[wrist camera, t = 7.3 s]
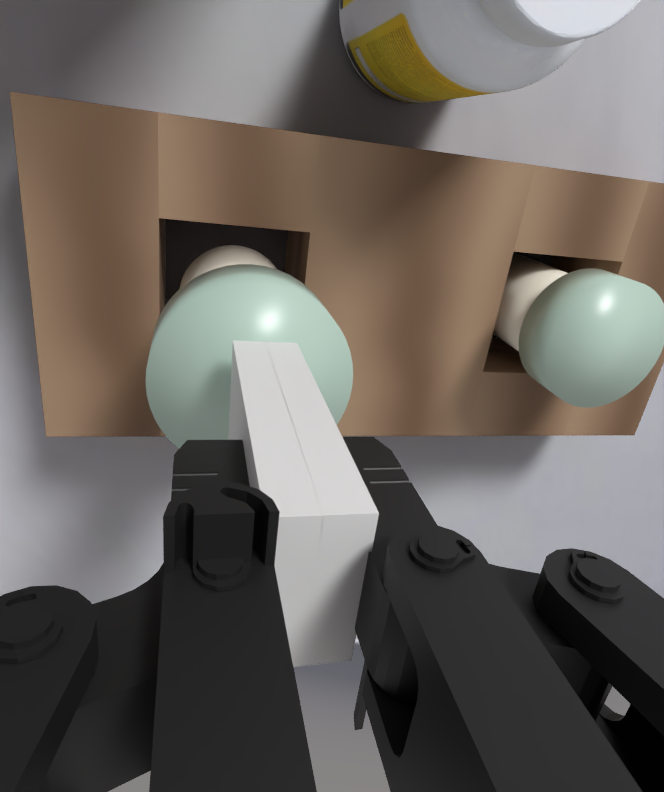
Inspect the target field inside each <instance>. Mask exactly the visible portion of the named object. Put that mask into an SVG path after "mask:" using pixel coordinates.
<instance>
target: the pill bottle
mask: <svg viewBox="0 0 664 792" xmlns="http://www.w3.org/2000/svg"><path fill="white" fill-rule="evenodd" d="M639 2H640V0H340V3H339V16H340V27H341V33H342V38H343V41H344V45H345V48H346V51H347V54H348V56H349V58H350V60H351V62H352V64H353V66H354V68H355V69H356V71H357V72H358V74H359V75H360V76H361V77H362V79H363V80H364V81H365V82H366V83H367V84H368V85H369V86H370V87H371V88H373V89H374V90H375V91H377V92H378V93H380V94H381V95H383V96H385V97H387V98H389V99H392V100H395V101H399V102H404V103H426V102H433V101H440V100H448V99H455V98H462V97H469V96H477V95H484V94H491V93H499V92H506V91H511V90H516V89H520V88H522V87H525V86H528V85H531V84H533V83H535V82H537V81H539V80H541V79H542V78H544V77H546V76H547V75H549V74H551V73H552V72H553V71H555V70H556V69H558V68H559V67H560V66H561V65H562V64H563V63H565V62H566V61H567V60H568V59H569V58H570V57H571V56H572V55H573V54H574V53H575V51H576V50H577V49H578V48H579V47H580V45H581V44H582V43H583V42H584V40H585V39H586V38H589V37H592V36H595V35H597V34H599V33H601V32H603V31H605V30H607V29H609V28H611V27H612V26H614V25H615V24H616V23H618V22H619V21H620V20H621V19H623V18H624V17H625V16H627V15H628V14H629V13H630V12H631V11H632V10H633V8H634V7H635V6H636V5H637V4H638V3H639Z"/></svg>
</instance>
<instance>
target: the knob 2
mask: <svg viewBox="0 0 664 792" xmlns="http://www.w3.org/2000/svg"><path fill="white" fill-rule="evenodd" d="M493 334H494V335H495V336H497V337H498V338H500V339H501V340H503V341H504V342H506V343H507V344H508V345H510V346H511V347H513V348H514V349H516V350H517V351H519V355H520V359H521V362H522V365H523V367H524V369H525V370H526V372H527V373H528V374H529V375H530V376H531V377H532V378H533V379H534V380H535V381H537V382H538V383H539V384H541V385H542V386H544V387H545V388H546V389H548V390H549V391H550V392H552V393H553V394H554V395H556V396H557V397H559V398H560V399H561V400H563V401H564V402H566V403H568V404H570V405H573V406H577V407H584V408H589V407H598V406H602V405H605V404H609V403H611V402H613V401H616V400H618V399H619V398H621V397H623V396H624V395H626V394H627V393H629V392H630V391H632V390H633V389H634V388H635V387H636V386H637V385H638V384H639V383H640V382H641V381H642V380H643V379H644V378H645V377H646V376H647V375H648V374H649V372H650V371H651V369H652V368H653V367H654V365H655V363H656V362H657V360H658V358H659V356H660V354H661V352H662V349H663V346H664V303H663V301H662V299H661V298H660V296H659V295H658V294H657V293H656V292H655V291H654V290H653V289H652V288H651V287H649V286H647V285H645V284H643V283H640V282H637V281H634V280H631V279H629V278H626V277H623V276H620V275H617V274H614V273H611V272H608V271H605V270H602V269H596V268H587V269H580V270H576V271H573V272H570V273H566V272H564V271H561V270H559V269H556V268H553V267H551V266H548V265H546V264H543V263H540V262H538V261H535V260H533V259H530V258H527V257H525V256H522V255H519V254H513V256H512V260H511V264H510V268H509V272H508V276H507V280H506V284H505V287H504V291H503V295H502V299H501V303H500V307H499V311H498V315H497V319H496V323H495V327H494V330H493Z"/></svg>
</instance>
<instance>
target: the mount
mask: <svg viewBox="0 0 664 792" xmlns="http://www.w3.org/2000/svg"><path fill="white" fill-rule="evenodd" d="M10 99H11V109H12V118H13V128H14V137H15V147H16V156H17V166H18V175H19V185H20V194H21V204H22V213H23V223H24V232H25V242H26V251H27V261H28V270H29V280H30V289H31V299H32V308H33V318H34V327H35V337H36V346H37V356H38V365H39V375H40V384H41V394H42V403H43V413H44V422H45V431H46V437H69V436H166V435H165V434H164V433H163V432H162V430H161V429H160V427H159V425H158V424H157V422H156V420H155V419H154V416H153V414H152V411H151V409H150V406H149V402H148V398H147V393H146V368H147V363H148V358H149V353H150V347H151V342H152V338H153V333H154V328H155V326H156V323H157V320H158V318H159V316H160V314H161V312H162V310H163V308H164V307H165V305H166V300H165V219H173V220H184V221H194V222H205V223H216V224H226V225H237V226H247V227H258V228H269V229H279V230H288V238H287V250H286V261H285V273H287V274H289V275H291V276H292V277H294V278H296V279H298V280H299V281H301V282H302V283H303V284H304V285H306V286H307V287H308V288H309V289H310V290H311V291H312V292H313V293H314V294H315V295H316V296H317V297H318V299H319V300H320V301H321V303H322V304H323V305H324V307H325V308H326V310H327V311H328V312H329V314H330V315H331V316H332V318H333V319H334V320H335V322H336V323H337V325H338V326H339V327H340V329H341V331H342V333H343V335H344V336H345V338H346V341H347V343H348V346H349V349H350V353H351V358H352V363H353V384H352V390H351V395H350V399H349V402H348V404H347V407H346V410H345V412H344V414H343V415H342V417H341V419H340V421H339V422H338V424H337V427H338V429H339V431H340V433H341V435H342V436H505V435H635V432H636V430H637V427H638V425H639V422H640V420H641V417H642V415H643V412H644V410H645V407H646V405H647V402H648V400H649V397H650V395H651V392H652V390H653V387H654V385H655V382H656V380H657V377H658V375H659V372H660V370H661V367H662V365H663V362H664V346H663V349H662V352H661V354H660V356H659V358H658V360H657V362H656V363H655V365H654V367H653V368H652V369H651V371H650V372H649V374H648V375H647V376H646V377H645V378H644V379H643V380H642V381H641V382H640V383H639V384H638V385H637V386H636V387H635V388H634V389H633V390H632V391H630V392H629V393H627V394H626V395H624V396H623V397H621V398H619V399H618V400H616V401H613V402H611V403H609V404H605V405H602V406H598V407H589V408H584V407H577V406H573V405H570V404H568V403H566V402H564V401H563V400H561V399H560V398H559V397H557V396H556V395H554V394H553V393H552V392H550V391H549V390H548V389H546V388H545V387H544V386H542V385H541V384H539V383H538V382H537V381H535V380H534V379H533V378H532V377H531V376H530V375H529V374H528V373H527V372H526V370H525V369H524V367H523V365H522V362H521V359H520V355H519V351H517V350H516V349H514V348H513V347H511V346H510V345H508V344H507V343H506V342H504V341H503V340H501V339H500V338H492V334H493V330H494V327H495V323H496V319H497V315H498V311H499V307H500V303H501V299H502V295H503V291H504V287H505V284H506V280H507V276H508V272H509V268H510V264H511V260H512V256H513V252H524V253H534V254H545V255H552V258H551V261H550V265H549V266H551V267H553V268H556V269H559V270H561V271H564V272H566V273H570V272H573V271H576V270H580V269H587V268H596V269H602V270H605V271H608V272H611V273H614V274H617V275H620V276H623V277H626V278H629V279H631V280H634V281H637V282H640V283H643V284H645V285H647V286H649V287H651V288H652V289H653V290H654V291H655V292H656V293H657V294H658V295H659V296H660V298H661V299H662V301H663V303H664V184H663V183H656V182H649V181H642V180H635V179H627V178H620V177H613V176H606V175H599V174H592V173H585V172H578V171H571V170H564V169H556V168H549V167H542V166H535V165H528V164H521V163H514V162H507V161H500V160H493V159H485V158H478V157H471V156H464V155H457V154H450V153H443V152H436V151H429V150H421V149H414V148H407V147H400V146H393V145H386V144H379V143H372V142H365V141H358V140H350V139H343V138H336V137H329V136H322V135H315V134H308V133H301V132H294V131H287V130H279V129H272V128H265V127H258V126H251V125H244V124H237V123H230V122H223V121H216V120H208V119H201V118H194V117H187V116H180V115H173V114H166V113H159V112H152V111H144V110H137V109H130V108H123V107H116V106H109V105H102V104H95V103H88V102H81V101H73V100H66V99H59V98H52V97H45V96H38V95H31V94H24V93H17V92H10Z"/></svg>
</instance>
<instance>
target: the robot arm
mask: <svg viewBox="0 0 664 792" xmlns="http://www.w3.org/2000/svg"><path fill="white" fill-rule="evenodd" d="M163 532H164V563H163V565H162V566H161V568H160V569H159V571H158V572H157V573H156V574H155V575H154V576H153V577H152V578H151V579H149V580H148V581H147V582H145V583H144V584H142V585H141V586H139V587H137V588H136V589H134V590H132V591H130V592H127V593H125V594H122V595H120V596H117V597H114V598H111V599H108V600H105V601H102V602H98V603H95V604H91V602H90V601H88V600H87V599H86V598H85V597H84V596H82V595H81V594H80V593H79V592H78V591H75V590H71V589H67V588H64V587H60V586H32V587H28V588H24V589H21V590H17V591H14V592H10V593H7V594H4V595H2V596H0V792H108V791H110V790H112V789H114V788H116V787H118V786H119V785H122V784H124V783H126V782H128V781H130V780H132V779H134V778H136V777H138V776H140V775H142V774H144V773H146V772H148V771H150V770H151V775H150V790H149V792H317V791H316V786H315V780H314V775H313V770H312V764H311V759H310V754H309V748H308V743H307V738H306V732H305V727H304V722H303V716H302V712H301V706H300V700H299V695H298V690H297V684H296V679H295V673H294V668H293V667H297V666H306V665H314V664H323V663H333V662H342V661H350V660H351V659H352V654H353V649H354V644H355V638H356V634H357V637H358V640H359V643H360V646H361V649H362V652H363V655H364V658H365V662H364V667H363V671H362V676H361V681H360V686H359V691H358V696H357V702H356V706H355V711H354V723H355V724H354V726H355V730H358V729H362V727H363V722H364V718H365V712H366V709H367V713H368V716H369V719H370V723H371V726H372V730H373V733H374V736H375V740H376V743H377V747H378V750H379V753H380V757H381V760H382V763H383V767H384V770H385V774H386V777H387V781H388V784H389V787H390V791H391V792H664V598H662V597H661V596H660V595H658V594H657V593H656V592H655V591H653V590H652V589H651V588H649V587H648V586H647V585H645V584H644V583H643V582H642V581H640V580H639V579H638V578H636V577H635V576H634V575H632V574H631V573H630V572H629V571H627V570H626V569H624V568H622V567H621V566H619V565H618V564H616V563H614V562H613V561H611V560H610V559H607V558H605V557H602V556H600V555H597V554H595V553H592V552H589V551H583V550H577V549H562V550H556V551H554V552H553V553H551V554H549V555H548V556H546V559H545V562H544V565H543V568H542V571H541V573H540V574H538V573H532V572H527V571H521V570H516V569H510V568H504V567H499V566H495V565H491V564H488V562H487V561H486V559H485V558H484V556H483V555H482V553H481V552H480V551H479V550H478V549H477V548H476V547H475V546H474V545H473V544H472V542H471V541H470V540H468V539H466V538H465V537H463V536H461V535H460V534H458V533H456V532H455V531H452V530H449V529H446V528H443V527H440V526H437V524H436V522H435V521H434V519H433V517H432V516H431V514H430V513H429V511H428V509H427V508H426V506H425V504H424V503H423V501H422V500H421V498H420V496H419V495H418V493H417V491H416V490H415V488H414V487H413V485H412V483H409V478H408V477H407V475H406V474H405V472H404V470H403V469H401V465H400V464H399V462H398V461H397V459H396V457H395V456H394V454H393V452H392V451H391V450H390V449H389V448H387V447H386V446H385V445H383V444H382V443H380V442H379V441H378V440H376V439H375V438H374V437H342V435H341V433H340V431H339V429H338V427H337V425H336V423H335V421H334V419H333V417H332V415H331V413H330V410H329V408H328V406H327V404H326V402H325V400H324V398H323V396H322V394H321V392H320V390H319V388H318V386H317V383H316V381H315V379H314V377H313V375H312V373H311V371H310V369H309V367H308V365H307V363H306V361H305V359H304V357H303V354H302V352H301V350H300V348H299V346H298V344H297V343H286V342H261V341H235V340H233V346H232V368H231V389H230V410H229V432H228V440H187V441H186V442H185V443H184V444H183V445H182V446H181V448H180V449H179V450H178V451H177V452H176V453H175V455H174V464H173V480H172V496H171V501H170V502H169V504H168V506H167V509H166V511H165V513H164V516H163ZM612 686H613V687H614V688H615V689H616V690H617V691H618V692H619V693H620V694H622V696H623V697H624V698H625V699H626V700H627V701H628V702H629V703H630V704H631V705H630V707H629V709H628V711H627V713H626V715H625V716H622V715H620V714H617V713H615V712H613V711H612V710H611V709H610V708H608V707H607V706H606V705H605V704H604V702H605V700H606V698H607V696H608V694H609V692H610V690H611V688H612Z"/></svg>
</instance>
